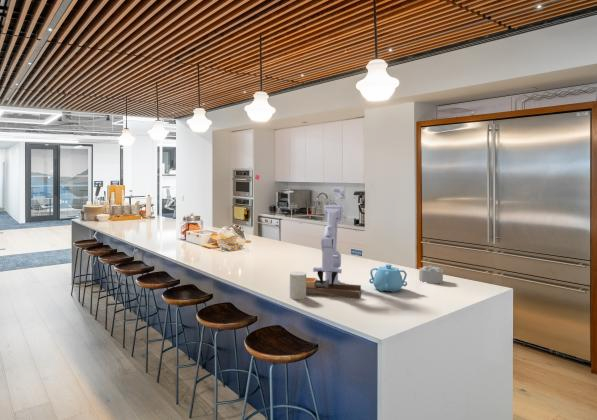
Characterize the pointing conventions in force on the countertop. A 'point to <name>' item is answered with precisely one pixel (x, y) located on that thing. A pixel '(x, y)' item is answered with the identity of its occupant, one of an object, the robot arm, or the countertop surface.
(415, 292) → the countertop surface
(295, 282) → the cup
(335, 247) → the robot arm
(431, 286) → the countertop surface
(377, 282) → the decorative pot
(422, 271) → the lumpy-topped squat cylinder
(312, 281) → the drawer
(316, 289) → the bay
